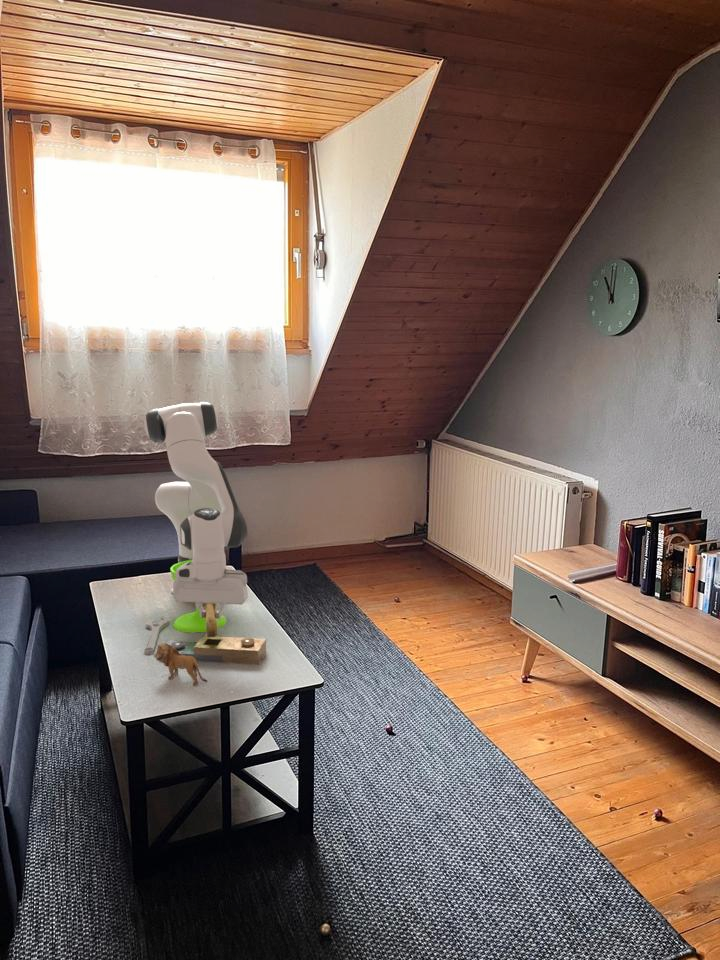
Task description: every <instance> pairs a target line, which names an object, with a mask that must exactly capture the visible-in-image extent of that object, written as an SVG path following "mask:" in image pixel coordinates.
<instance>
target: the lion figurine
mask: <svg viewBox="0 0 720 960" xmlns="http://www.w3.org/2000/svg"><path fill="white" fill-rule="evenodd" d="M156 647H157V648H156V652H155V654H154V655H153V657H154V658H155V660H156V661H157V662H158V661H159V662H160V663H162V664H163V666H165V667H167V668H168V672H169V674H170V676H168V677H167V679H168V680H169V681H170V680H173V679H174V678H175V676H177V675H179V669H180V670H186V672H187V674H188V675H189V677H190V678H191V679H192V680H193V683H192V685H193V687H196V686H198V684H199V681H198V677H199V678H200V680H201V681H202V682H203V683H208V679H205V678H204V677H202V674H201V672H200V670H199V669H200V668H199V665H198V661H197V660H196V659H195V658H194V657H193V656H184V655H181V654H180V653H179V652H178V651H177V650H176V649H175V648H174V647H173V646H171V645H168V644H167V643H163V642H162V643H160V644H158V645H157V644H156Z"/></svg>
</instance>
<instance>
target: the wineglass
mask: <svg viewBox="0 0 720 960" xmlns="http://www.w3.org/2000/svg"><path fill="white" fill-rule="evenodd" d="M188 562H192V560H188V561H183V562H180V563H178V562H177V563H174V564H173V565H172V566H171V567H170V574H171V577H172V579H173V581H174V580H175V579H176V578H177V577H176V575H175V571H176V570H177V569H178V568H179V567H180V566H181V565H183V564H185V563H188ZM226 623H227V619H226V618H225V616H224V615H223V616H222V618H221V619H218V618H217V630H218V629H220V628H222V627H223V626H225V625H224V624H226ZM173 628H174V629H175V630H177V631H179V632H181V633H182V632H183V633H187V632H201V633H206V632H205V631H206V618H200V612H199V610H198V609H197V607H196V606H195V611H193V612H188V613H185V614H182V615H180V616H179V617H177V618H176V619H175V620H174V621H173Z"/></svg>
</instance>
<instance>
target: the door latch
mask: <svg viewBox="0 0 720 960" xmlns="http://www.w3.org/2000/svg"><path fill="white" fill-rule="evenodd" d="M166 644H168V645H171V646H173V647H174V648H175V649H176V650H177V651H178V652H179V653H180V654H181V655H184V656H193V657H194V658H195V659H196V660H197V662H202V661H203V662H204V663H205V662H206V663H208V662H209V663H222V664H223V663H224V664H239V665H242V664H243V665H255V666H257V665H260V663H261V662H262V660H263V659H264V656H265V655H266V654H267V639H266V638H255V637H254V638H253V637H235V636H234V637H232V636H218V635H217V636H216V637H207V636H206V635H203V636H202V637H201V638H200V639H199V640H198V641H186V640H185V641H184V640H183V641H182V640H169V641H168V642H167V643H166Z"/></svg>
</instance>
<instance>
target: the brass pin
mask: <svg viewBox="0 0 720 960" xmlns="http://www.w3.org/2000/svg"><path fill="white" fill-rule="evenodd" d="M204 606H205V607H204V608H205V609H204V610H205V612H206V632H205V636H207V637H216V636H217V637H218V633H219V632H218V629H217V618H216V615H215V613H216V612H217V608H218V607H217V603H204Z"/></svg>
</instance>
